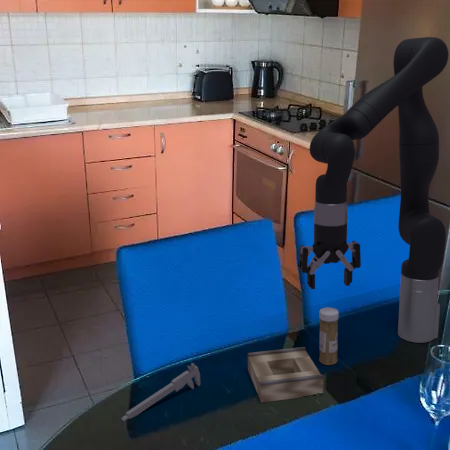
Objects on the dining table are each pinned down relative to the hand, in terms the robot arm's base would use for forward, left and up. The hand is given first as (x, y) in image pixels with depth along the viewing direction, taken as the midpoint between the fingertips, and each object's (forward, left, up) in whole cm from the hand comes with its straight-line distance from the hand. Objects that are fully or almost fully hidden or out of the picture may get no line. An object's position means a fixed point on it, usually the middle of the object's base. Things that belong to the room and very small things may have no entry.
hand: (329, 286), depth 139 cm
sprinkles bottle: (0, 0, -20) cm, 20 cm away
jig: (+13, +7, -20) cm, 25 cm away
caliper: (+41, +9, -20) cm, 47 cm away
